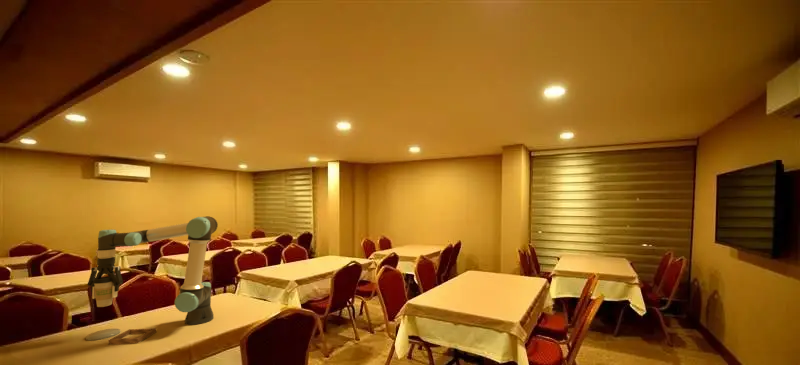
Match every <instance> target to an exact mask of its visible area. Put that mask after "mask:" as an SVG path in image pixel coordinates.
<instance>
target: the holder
mask: <svg viewBox="0 0 800 365" xmlns="http://www.w3.org/2000/svg"><path fill="white" fill-rule="evenodd" d="M155 333H157V328H155V327H151V328H131V329H127V330H125V331H124V332H121V333H119V334H117V335H115V336H113V337H111V338H109V339H108V345H120V344H121V345H125V344H139V343H141V342H142V341H144V340H146V339H147V338H149V337H151V336H152V335H155ZM139 334H142V335H140V336H138V337H127V336H129V335H139ZM125 337H127V338H125Z"/></svg>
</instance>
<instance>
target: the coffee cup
mask: <svg viewBox="0 0 800 365" xmlns="http://www.w3.org/2000/svg"><path fill="white" fill-rule="evenodd" d="M94 285H95V297H96V298H95V301H96V307H97V308H104V307H108V306H111V305H112V304H113V300H114V298H112V286H114V284H113V281H112V278H110V277H109V276H108V275H107V276H102V277H101V278H98V279H95V281H94Z"/></svg>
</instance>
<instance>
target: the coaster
mask: <svg viewBox="0 0 800 365" xmlns="http://www.w3.org/2000/svg"><path fill="white" fill-rule="evenodd" d="M120 332H121V329H120V328H105V329H101V330H97V331H94V332H91V333H89V334H87V335H86V336H85V340H86V341H91V342H92V341H99V340H104V339H108V338H109V339H110V338H113V337H116V336H117V335H119V334H121V333H120Z"/></svg>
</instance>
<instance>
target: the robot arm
mask: <svg viewBox="0 0 800 365" xmlns="http://www.w3.org/2000/svg"><path fill="white" fill-rule="evenodd" d="M218 224H219V223H218V221H217V220H216V219H215V218H214V217H213V216H197V217H194V218H192V219H191V220H189V221H188V222H184V223H180V224H179V223H178V224H173V225H169V226H168V225H167V226H161V227H156V228H151V229H150V228H149V229H143V230H137V231H130V232H117V230H116V229H101V230H99V232H98V236H97V259H96V260H97V262H96V263H97V264H96V265H97V266H95V267H91V269H90V271H91V273H90V275H89V279H88V281H87V286H89V287H90V288H91V289H90V290H91V293H92V294H91V295H92V298H91V299H93V300H95V299H96V297H95V285H94V281H95V279H98V278H101V277H103V275H107V277H108V276H109V277H110V278H112V281H113V284H114V286H112V298H113V299H115V298H117V297H118V292H119V291H120V286H121V285H122V284H124V280H123V276H122V272H121V268H122V267H121V266H115V263H116V250H117V249H116V248H117V247H133V246H134V247H135V246H136V247H137V246H138V245H140V244H144V243H150V242H156V241H160V240H167V239H168V240H169V239H172V238H178V237H179V238H180V237H184V236H187V241H188V242H189V248H188V249H189V250H188V256H187V262H186V269H185V274H184V275H185V276H184V282H183V284H182V285H181V286H180V287H179V294H178V295H177V296H176V297H175V299H174V306H175V308H176V310H178V311H179V312H180V313H181V312H182V313H186V315H185V317H184V318H185V319H184V323H185V325H188V326H190V325H191V326H192V325H200V324H201V325H202V324H204V323H208V322H210V321H213V320H214V312H213V310H212V306H211V300H212V296H211V295H212V294H211V293H212V283H211V282H209V281H203V280H202V279H203V272H204V267H205V260H206V252H207V246H208V243H209V242H210V241H211V239H212V235H213V234H214V233H215V232H216V231H217V229H218V226H219V225H218ZM202 281H203V282H202Z"/></svg>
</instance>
